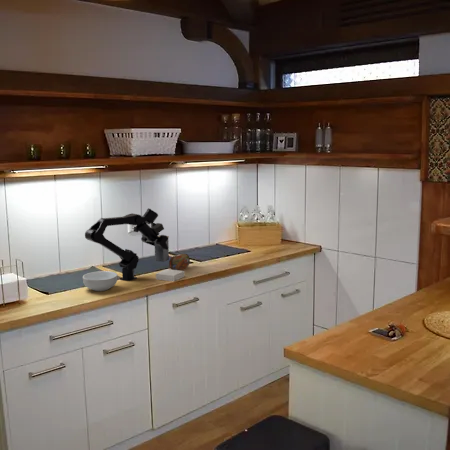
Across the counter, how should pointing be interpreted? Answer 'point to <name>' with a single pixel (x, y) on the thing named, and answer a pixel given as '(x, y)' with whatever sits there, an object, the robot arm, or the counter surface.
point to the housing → (161, 252)
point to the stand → (169, 275)
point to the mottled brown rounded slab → (179, 262)
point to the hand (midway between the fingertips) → (163, 248)
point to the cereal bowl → (100, 280)
